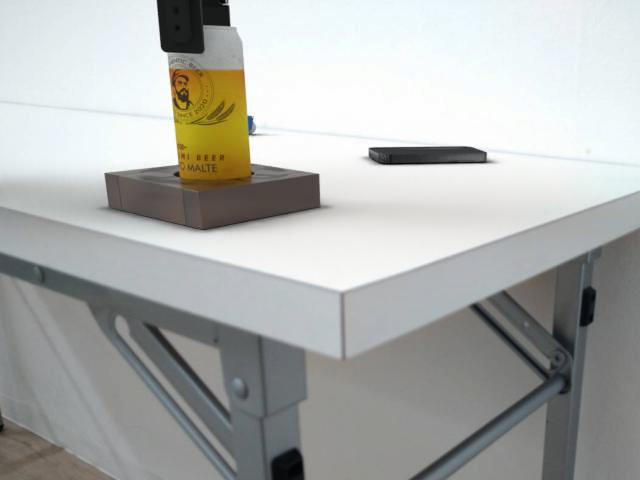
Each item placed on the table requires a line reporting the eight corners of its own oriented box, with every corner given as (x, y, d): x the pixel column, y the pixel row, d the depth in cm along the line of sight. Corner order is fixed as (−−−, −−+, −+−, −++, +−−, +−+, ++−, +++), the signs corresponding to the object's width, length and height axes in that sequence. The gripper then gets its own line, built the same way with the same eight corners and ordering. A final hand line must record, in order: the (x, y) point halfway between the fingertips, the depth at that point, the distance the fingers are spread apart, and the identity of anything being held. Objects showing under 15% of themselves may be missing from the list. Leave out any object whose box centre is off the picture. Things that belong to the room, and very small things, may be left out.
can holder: (108, 207, 65) (103, 172, 64) (228, 189, 75) (226, 159, 74) (202, 229, 58) (198, 191, 57) (320, 206, 68) (319, 173, 67)
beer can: (167, 208, 65) (147, 24, 60) (216, 198, 70) (201, 27, 65) (221, 216, 63) (205, 24, 57) (267, 205, 68) (256, 28, 62)
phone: (366, 147, 101) (469, 145, 106) (366, 155, 101) (469, 153, 106) (380, 154, 94) (489, 152, 99) (380, 163, 94) (489, 161, 99)
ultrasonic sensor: (255, 140, 124) (257, 120, 124) (250, 135, 121) (252, 115, 122) (221, 138, 124) (223, 119, 125) (215, 133, 122) (217, 113, 122)
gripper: (165, -163, 63) (182, 51, 70) (84, -236, 47) (115, 50, 53) (254, -157, 64) (263, 54, 70) (204, -227, 48) (221, 55, 54)
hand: (199, 52), depth 62 cm, fingers open, 9 cm apart
